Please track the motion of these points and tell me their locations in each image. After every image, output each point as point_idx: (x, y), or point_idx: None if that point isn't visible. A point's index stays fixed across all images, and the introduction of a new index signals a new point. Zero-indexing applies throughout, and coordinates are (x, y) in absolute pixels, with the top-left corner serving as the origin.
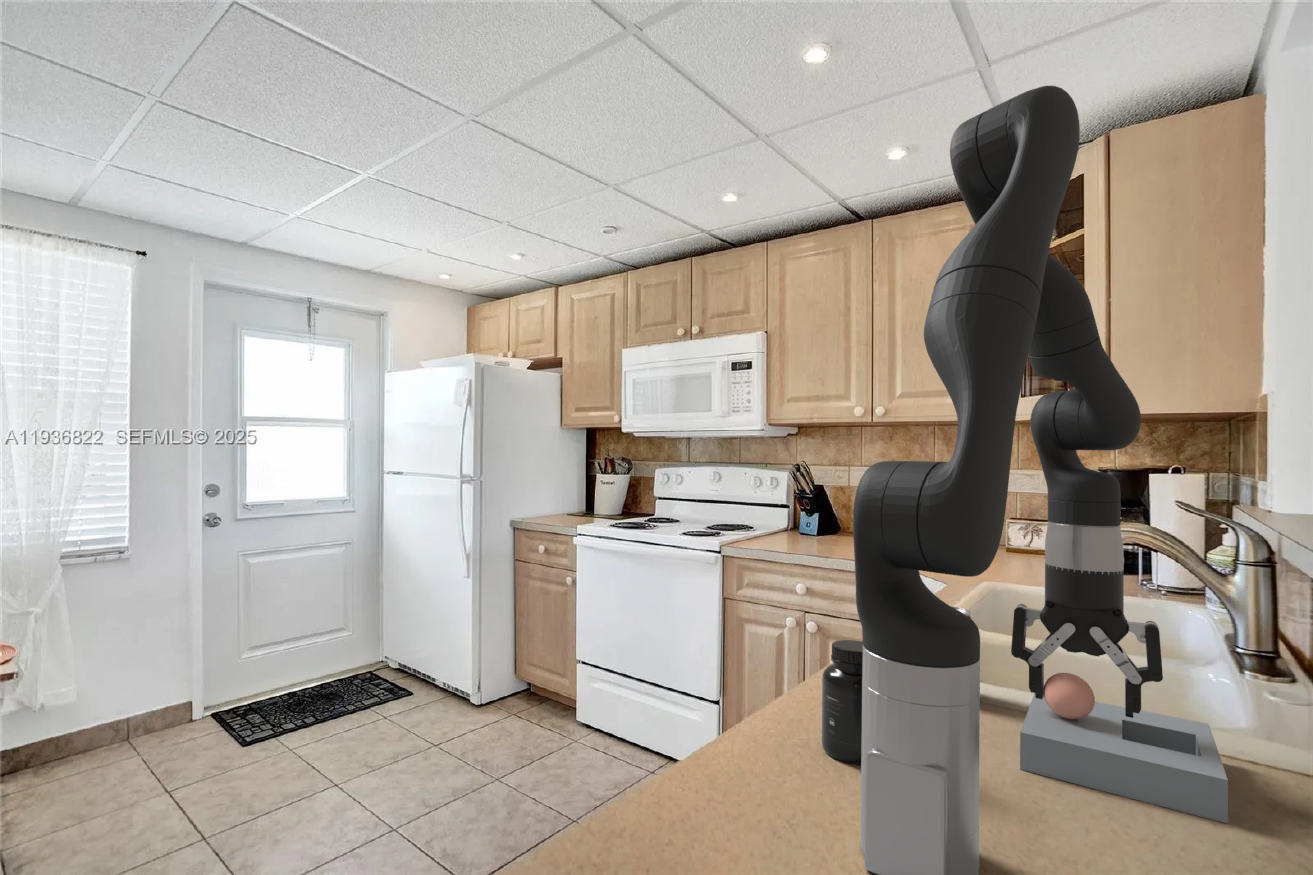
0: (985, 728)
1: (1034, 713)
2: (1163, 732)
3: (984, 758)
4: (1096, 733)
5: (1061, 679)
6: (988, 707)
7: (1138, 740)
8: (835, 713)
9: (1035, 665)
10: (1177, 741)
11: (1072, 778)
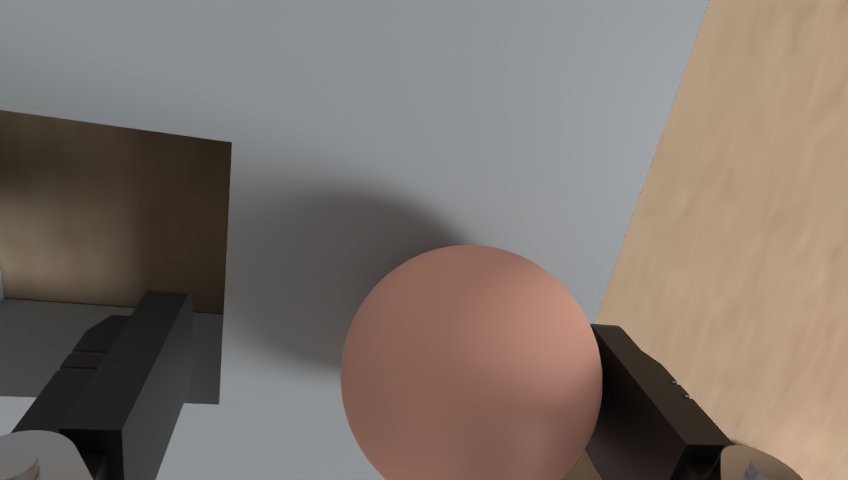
0: (653, 306)
1: (583, 278)
2: None
3: (724, 29)
4: (347, 161)
5: (555, 390)
6: None
7: None
8: None
9: (735, 453)
10: (11, 363)
11: None
